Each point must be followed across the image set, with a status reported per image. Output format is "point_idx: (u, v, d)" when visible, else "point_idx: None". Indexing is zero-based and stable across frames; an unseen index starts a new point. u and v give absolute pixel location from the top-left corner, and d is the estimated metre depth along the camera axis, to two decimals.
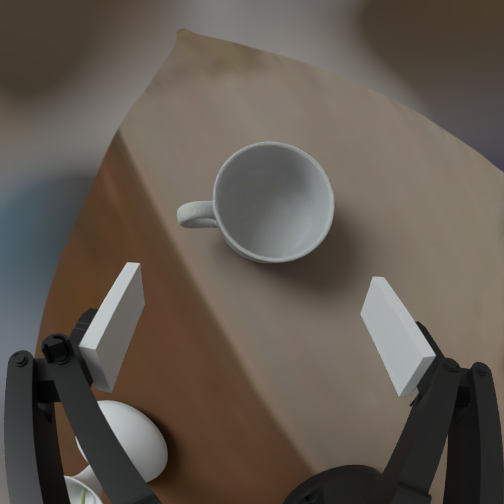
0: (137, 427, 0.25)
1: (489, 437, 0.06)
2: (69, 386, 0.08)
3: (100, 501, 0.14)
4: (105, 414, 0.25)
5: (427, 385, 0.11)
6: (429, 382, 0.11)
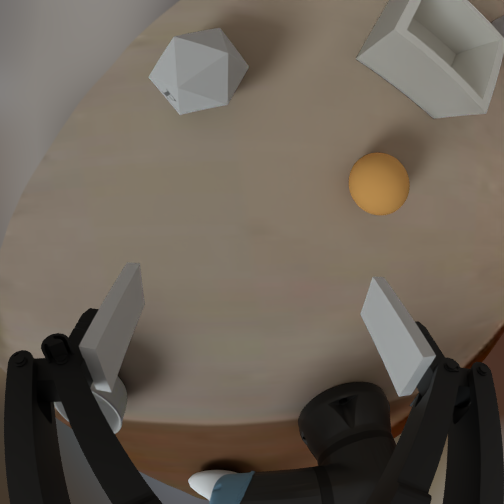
0: (205, 481, 0.43)
1: (489, 437, 0.06)
2: (69, 386, 0.08)
3: None
4: (194, 486, 0.43)
5: (427, 385, 0.11)
6: (429, 382, 0.11)
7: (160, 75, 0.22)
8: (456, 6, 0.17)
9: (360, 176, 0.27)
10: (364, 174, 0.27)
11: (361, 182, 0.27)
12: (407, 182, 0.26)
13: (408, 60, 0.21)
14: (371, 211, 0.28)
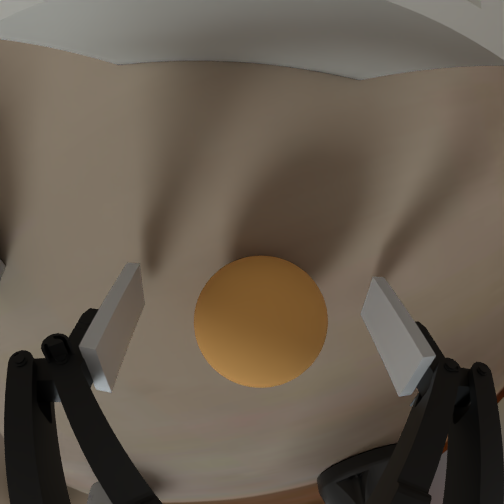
0: None
1: (489, 437, 0.06)
2: (69, 386, 0.08)
3: None
4: None
5: (427, 385, 0.11)
6: (429, 382, 0.11)
7: None
8: None
9: (201, 350, 0.13)
10: (203, 350, 0.13)
11: (207, 361, 0.13)
12: (305, 333, 0.12)
13: (133, 23, 0.06)
14: None
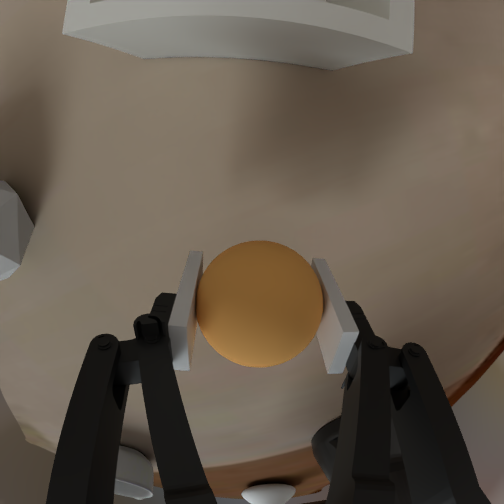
0: (253, 496, 0.45)
1: (441, 422, 0.08)
2: (153, 365, 0.10)
3: None
4: (247, 500, 0.46)
5: (354, 366, 0.12)
6: (356, 363, 0.12)
7: None
8: None
9: (202, 330, 0.14)
10: (204, 330, 0.14)
11: (208, 341, 0.14)
12: (301, 313, 0.13)
13: (169, 35, 0.09)
14: None
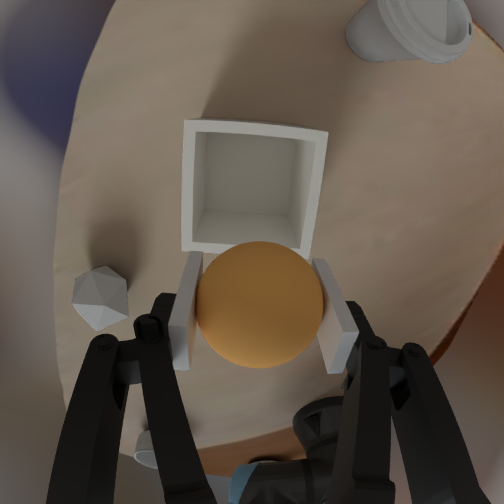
0: None
1: (441, 422, 0.08)
2: (153, 365, 0.10)
3: None
4: None
5: (354, 366, 0.12)
6: (356, 363, 0.12)
7: None
8: None
9: (202, 331, 0.14)
10: (204, 331, 0.14)
11: (208, 342, 0.14)
12: (301, 314, 0.13)
13: None
14: None
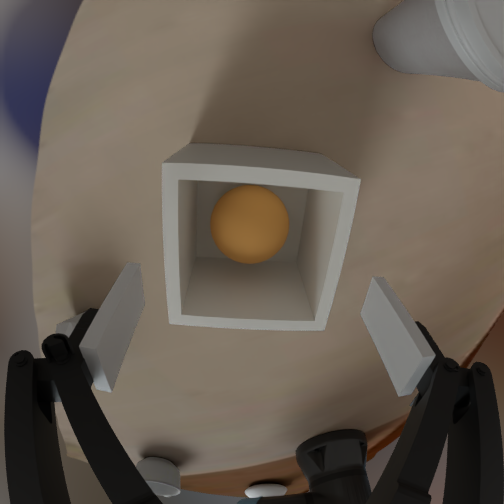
0: (254, 493, 0.59)
1: (489, 437, 0.06)
2: (69, 386, 0.08)
3: None
4: (249, 496, 0.60)
5: (427, 385, 0.11)
6: (429, 382, 0.11)
7: None
8: None
9: (213, 235, 0.24)
10: (213, 233, 0.24)
11: (215, 242, 0.24)
12: (269, 220, 0.22)
13: None
14: None
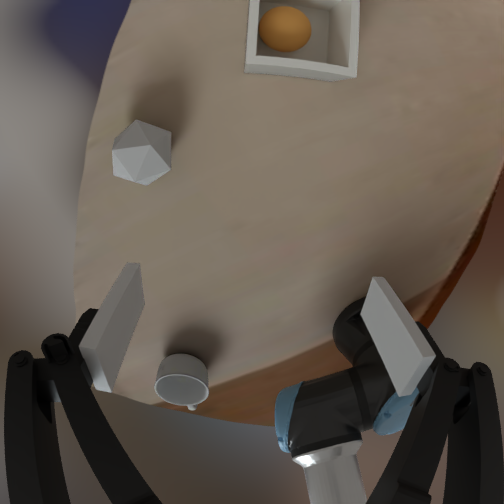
0: None
1: (489, 437, 0.06)
2: (69, 386, 0.08)
3: None
4: None
5: (427, 385, 0.11)
6: (429, 382, 0.11)
7: (120, 174, 0.35)
8: None
9: (259, 31, 0.29)
10: (259, 28, 0.29)
11: (260, 34, 0.29)
12: (291, 13, 0.26)
13: (274, 68, 0.29)
14: (282, 47, 0.30)
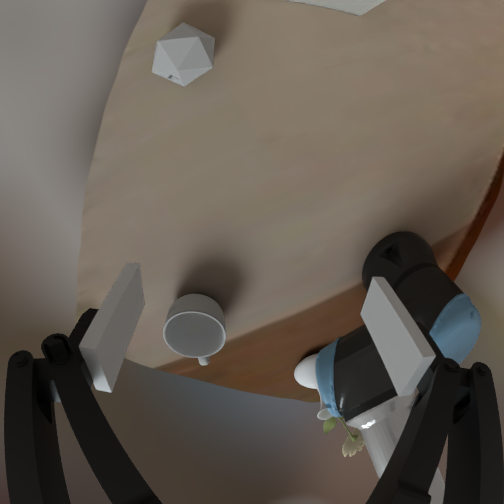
0: (308, 367, 0.60)
1: (489, 437, 0.06)
2: (69, 386, 0.08)
3: None
4: (300, 377, 0.62)
5: (427, 385, 0.11)
6: (429, 382, 0.11)
7: (160, 67, 0.32)
8: None
9: None
10: None
11: None
12: None
13: None
14: None
